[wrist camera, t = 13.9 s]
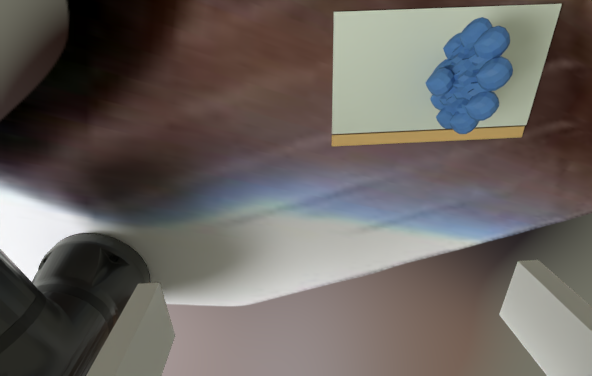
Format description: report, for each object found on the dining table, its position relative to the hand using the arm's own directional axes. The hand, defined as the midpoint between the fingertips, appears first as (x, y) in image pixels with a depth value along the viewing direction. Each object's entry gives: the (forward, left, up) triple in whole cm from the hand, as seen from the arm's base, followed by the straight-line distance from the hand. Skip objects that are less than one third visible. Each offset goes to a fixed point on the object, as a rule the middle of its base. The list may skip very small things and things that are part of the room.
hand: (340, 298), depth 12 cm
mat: (+18, +4, -32) cm, 36 cm away
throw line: (+18, -4, -32) cm, 36 cm away
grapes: (+17, +4, -31) cm, 36 cm away
